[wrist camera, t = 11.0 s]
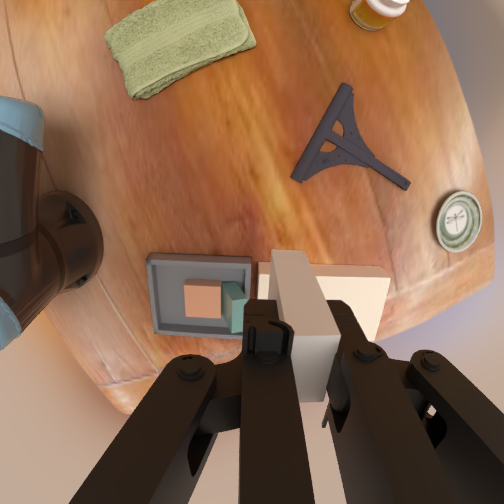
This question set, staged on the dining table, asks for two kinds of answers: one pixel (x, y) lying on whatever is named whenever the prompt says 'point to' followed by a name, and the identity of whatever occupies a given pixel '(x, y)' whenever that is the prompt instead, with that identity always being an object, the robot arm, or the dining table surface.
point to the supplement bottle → (376, 12)
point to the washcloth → (175, 41)
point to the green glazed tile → (233, 306)
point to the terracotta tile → (203, 298)
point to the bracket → (341, 144)
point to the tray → (172, 291)
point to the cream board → (345, 290)
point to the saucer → (458, 221)
